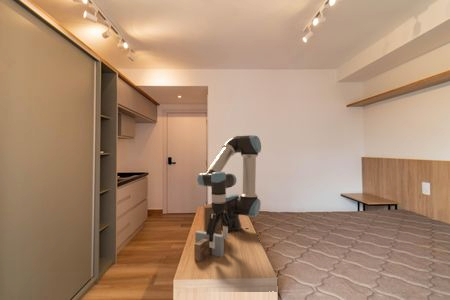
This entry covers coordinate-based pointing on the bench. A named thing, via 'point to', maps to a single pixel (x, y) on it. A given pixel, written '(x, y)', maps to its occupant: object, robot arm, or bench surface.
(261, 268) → the bench surface
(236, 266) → the bench surface
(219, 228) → the wooden block
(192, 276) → the bench surface
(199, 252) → the slotted beam
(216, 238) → the notched plate
